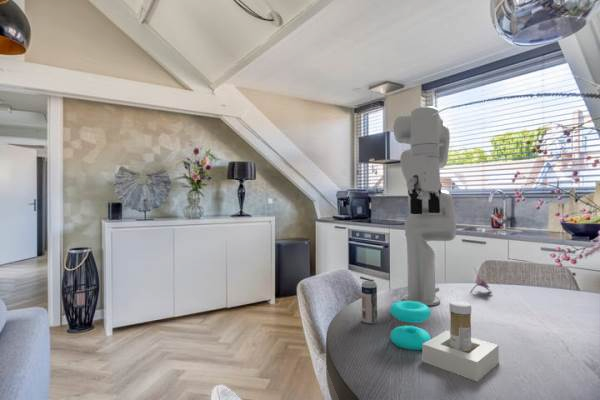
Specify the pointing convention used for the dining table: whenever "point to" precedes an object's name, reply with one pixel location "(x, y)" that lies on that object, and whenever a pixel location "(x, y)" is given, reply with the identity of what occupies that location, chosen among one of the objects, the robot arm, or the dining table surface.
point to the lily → (481, 283)
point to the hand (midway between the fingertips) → (425, 213)
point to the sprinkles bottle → (460, 326)
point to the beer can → (369, 302)
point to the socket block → (461, 356)
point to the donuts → (409, 334)
